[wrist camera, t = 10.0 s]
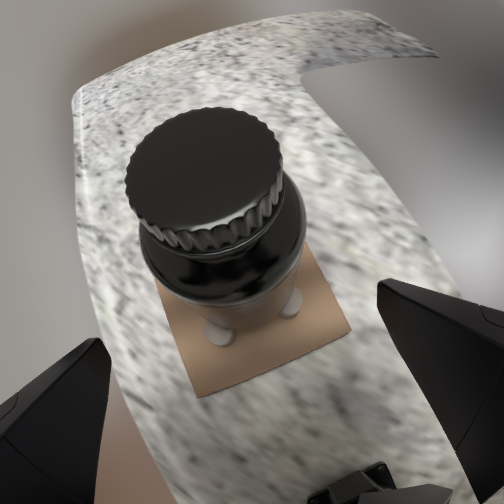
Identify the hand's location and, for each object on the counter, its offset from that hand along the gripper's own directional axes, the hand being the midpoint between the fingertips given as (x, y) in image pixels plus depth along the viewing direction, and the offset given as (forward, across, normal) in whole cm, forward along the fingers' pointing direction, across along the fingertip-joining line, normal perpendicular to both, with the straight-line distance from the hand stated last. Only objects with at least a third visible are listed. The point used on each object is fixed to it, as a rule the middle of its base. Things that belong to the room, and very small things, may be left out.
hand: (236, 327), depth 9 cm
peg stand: (+13, 0, +6) cm, 14 cm away
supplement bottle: (+10, 0, +4) cm, 11 cm away
